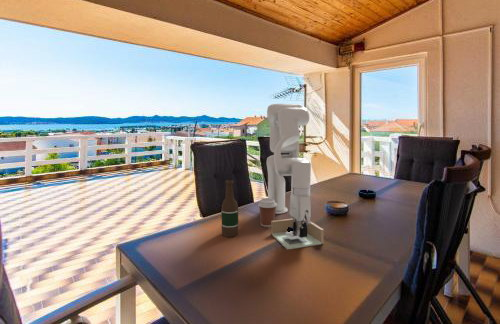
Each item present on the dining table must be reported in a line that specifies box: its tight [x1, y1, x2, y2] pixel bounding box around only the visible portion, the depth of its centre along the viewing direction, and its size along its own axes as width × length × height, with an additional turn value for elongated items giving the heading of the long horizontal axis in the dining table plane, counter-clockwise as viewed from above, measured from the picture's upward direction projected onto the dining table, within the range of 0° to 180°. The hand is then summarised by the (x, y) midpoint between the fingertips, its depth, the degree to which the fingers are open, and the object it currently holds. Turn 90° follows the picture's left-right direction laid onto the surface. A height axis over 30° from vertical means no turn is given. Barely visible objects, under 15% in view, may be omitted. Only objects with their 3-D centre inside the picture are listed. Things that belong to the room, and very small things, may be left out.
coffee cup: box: [257, 198, 277, 228], centre depth 129 cm, size 9×9×12 cm
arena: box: [270, 218, 325, 250], centre depth 112 cm, size 16×16×6 cm
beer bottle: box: [220, 179, 239, 238], centre depth 117 cm, size 8×8×24 cm
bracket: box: [285, 220, 304, 240], centre depth 109 cm, size 6×5×6 cm
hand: (299, 233), depth 110 cm, fingers closed on bracket, 4 cm apart
